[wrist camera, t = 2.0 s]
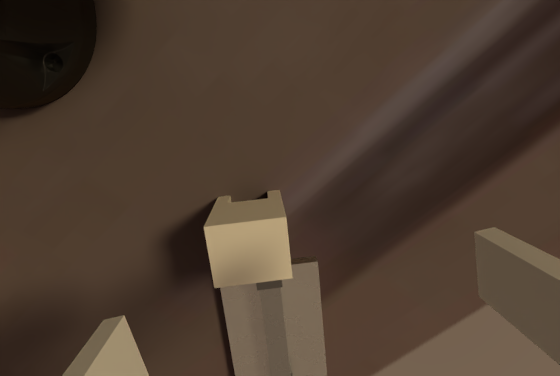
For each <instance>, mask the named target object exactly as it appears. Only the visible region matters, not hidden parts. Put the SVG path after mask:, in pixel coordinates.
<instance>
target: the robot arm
mask: <svg viewBox="0 0 560 376" xmlns="http://www.w3.org/2000/svg"><path fill="white" fill-rule="evenodd" d="M95 41H96V14H95V8H94V3H93V0H0V108H15V109H21V108H31V107H37V106H41V105H44V104H47V103H49V102H52V101H54V100H56V99H58V98H59V97H61V96H63V95H64V94H65V93H67V92H68V91H69V90H70V89H71V88H73V87H74V86H75V84H76V83H77V82H78V81H79V80H80V78H81V77H82V76H83V74H84V73H85V71H86V69H87V67H88V65H89V63H90V60H91V57H92V54H93V51H94V46H95ZM474 234H475V248H476V263H477V277H478V291H479V297H480V298H481V299H482V300H484V301H485V302H486V303H487V304H488V305H490V306H491V307H492V308H493V309H494V310H495V311H497V312H498V313H499V314H500V315H501V316H503V317H504V318H505V319H506V320H507V321H508V322H510V323H511V324H512V325H513V326H514V327H516V328H517V329H518V330H519V331H520V332H521V333H523V334H524V335H525V336H526V337H527V338H528V339H530V340H531V341H532V342H533V343H534V344H536V345H537V346H538V347H539V348H540V349H541V350H543V351H544V352H545V353H546V354H547V355H549V356H550V357H551V358H552V359H553V360H554V361H556V362H557V363H558V364H559V365H560V259H558V258H556V257H554V256H552V255H549V254H547V253H545V252H543V251H541V250H539V249H537V248H535V247H533V246H531V245H529V244H527V243H525V242H523V241H521V240H519V239H517V238H515V237H513V236H511V235H509V234H507V233H505V232H503V231H501V230H499V229H497V228H495V227H493V228H489V229H485V230H481V231H477V232H474ZM62 376H149V374H148V372H147V370H146V367H145V365H144V362H143V360H142V357H141V355H140V352H139V350H138V348H137V345H136V343H135V340H134V338H133V335H132V333H131V330H130V328H129V326H128V323H127V321H126V318H125V316H124V315H122V316H118V317H114V318H110V319H105V320H103V321H102V323H101V324H100V325H99V327H98V328H97V329H96V331H95V332H94V333H93V335H92V336H91V337H90V339H89V340H88V342H87V343H86V344H85V346H84V347H83V348H82V350H81V351H80V352H79V354H78V355H77V356H76V358H75V359H74V360H73V362H72V363H71V364H70V366H69V367H68V368H67V370H66V371H65V372H64V374H63V375H62Z"/></svg>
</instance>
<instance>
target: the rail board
mask: <svg viewBox="0 0 560 376" xmlns="http://www.w3.org/2000/svg"><path fill="white" fill-rule="evenodd" d="M291 268H292V277H293V278H291V279H283V280H275V281H268V282H260V283H252V284H244V285H236V286H228V287H220V290H221V296H222V302H223V307H224V313H225V319H226V325H227V331H228V337H229V343H230V349H231V354H232V360H233V366H234V372H235V376H327V369H326V357H325V345H324V333H323V320H322V308H321V296H320V283H319V271H318V261H317V258H316V256H312V257H304V258H296V259H291Z"/></svg>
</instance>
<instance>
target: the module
mask: <svg viewBox="0 0 560 376" xmlns="http://www.w3.org/2000/svg"><path fill="white" fill-rule="evenodd" d="M267 194H268V198H266V199H258V200H249V201H241V202H232V203H231V197H230V196H223V197H218V198H217V200H216V202H215V204H214V206H213V208H212V211H211V213H210V215H209V217H208V219H207V221H206V223H205V225H204V232H205V238H206V243H207V249H208V255H209V261H210V266H211V272H212V278H213V283H214V288H220V287H228V286H236V285H244V284H252V283H260V282H268V281H275V280H283V279H291V278H293V277H292V268H291V258H290V249H289V239H288V230H287V220H286V214H285V210H284V206H283V202H282V198H281V194H280V190H274V191H267Z"/></svg>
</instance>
